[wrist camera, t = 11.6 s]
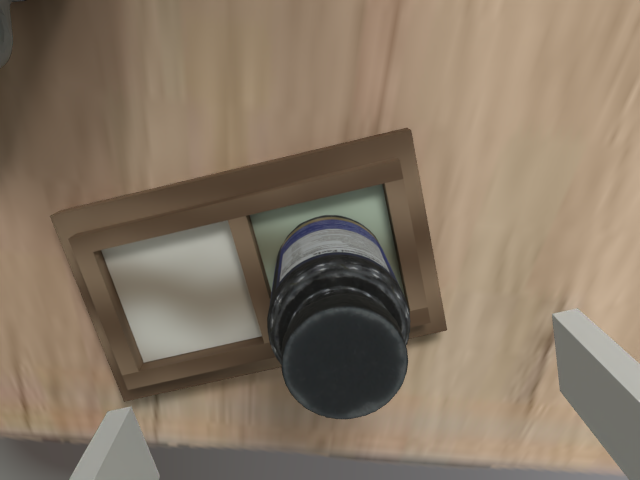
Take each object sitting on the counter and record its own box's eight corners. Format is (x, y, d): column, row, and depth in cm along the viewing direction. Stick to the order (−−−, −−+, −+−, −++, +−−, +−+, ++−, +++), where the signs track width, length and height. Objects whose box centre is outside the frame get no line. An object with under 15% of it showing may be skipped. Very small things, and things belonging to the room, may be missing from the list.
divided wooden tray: (59, 210, 30) (41, 221, 28) (406, 127, 29) (414, 131, 27) (130, 390, 33) (118, 411, 31) (442, 321, 33) (451, 338, 30)
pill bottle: (362, 326, 31) (393, 454, 21) (262, 297, 30) (240, 415, 20) (399, 229, 29) (453, 316, 19) (294, 197, 29) (289, 268, 18)
